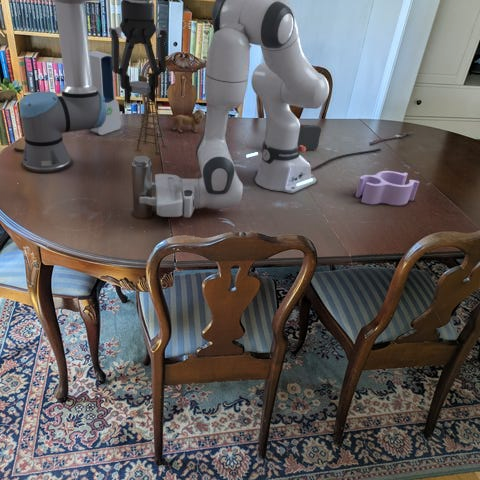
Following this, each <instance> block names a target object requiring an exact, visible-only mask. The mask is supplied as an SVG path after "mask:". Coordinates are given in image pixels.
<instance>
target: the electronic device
mask: <svg viewBox="0 0 480 480" xmlns="http://www.w3.org/2000/svg"><path fill="white" fill-rule="evenodd" d="M89 54H90V63H91V72H92V82H93V85H94V86H96V87H97V88H98V92H99V93H101V94H102V95H103V96H104V99H105V103H106V110H107V112H106V119H105V122H104V124H103V125H102V126H101V127H99V128H94V129H91V130H88V131H89V132H91V133H94V134H96V135H99V136H104V135H106V134H110V133H112V132H115V131H118V130H120V129H121V127H122V122H121V121H122V120H121V115H120V105H119V104H120V103H119V101H118V100H117V98H116V89H115V73H114V72H113V71H112V56H111V54H110V53H106V52H102V51H98V50H92V51H89Z"/></svg>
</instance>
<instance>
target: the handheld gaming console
mask: <svg viewBox="0 0 480 480" xmlns="http://www.w3.org/2000/svg"><path fill="white" fill-rule="evenodd" d="M321 133H322V127H321V126H319V125H318V124H300V131H299V137H298V143H297V144H298V145H299V146H300V145H303V146H304V147H305V148H306V151H312V150H317V148H318V147H319V144H320V137H321Z"/></svg>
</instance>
